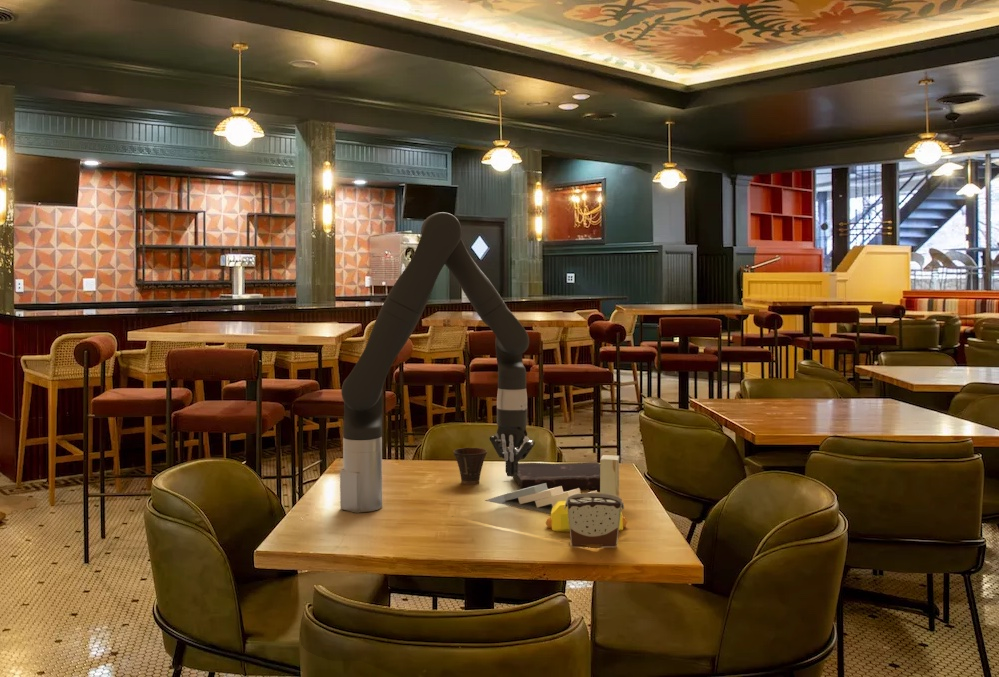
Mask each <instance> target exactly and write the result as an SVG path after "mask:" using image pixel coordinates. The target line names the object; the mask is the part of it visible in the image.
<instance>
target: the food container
mask: <svg viewBox="0 0 999 677" xmlns="http://www.w3.org/2000/svg"><path fill="white" fill-rule="evenodd" d="M566 507H567V508H568V518H569V528H570V531H569V536H570V545H571V547H588V548H589V547H591V548H593V549H594V547H592V546H591V545H597V547H596V548H598V549H599V548H601V549H602V548H603V549H605V548H617V547H618V541H619V539H618V538H619V532H620V531H619V524H620V515H621V512H622V509H623V510H625V505H624V502H623V499H622V498H621V497H620V496H619V497H617V496H614V495H610V494H603V493H600V492H597V493H588V492H583V493H581V494H575V495H571V496H569V497H568V498H567V501H566V503H565V508H564V510H565V509H566ZM589 545H590V546H589ZM571 547H570V548H571ZM588 548H587V549H588ZM591 548H590V549H591Z"/></svg>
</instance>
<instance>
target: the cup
mask: <svg viewBox="0 0 999 677" xmlns="http://www.w3.org/2000/svg"><path fill="white" fill-rule="evenodd" d="M487 454H488V450H487V449H485V448H480V447H461V448H456V449H454V450H453V455H454V458H455V459H456V463H457V466H458V470H459V474H460V483H461V484H463V485H467V486H471V485H472V486H473V485H479V484H480V479H481V473H482V470H483V469H482V468H483V465H484V461H485V458H486V455H487Z"/></svg>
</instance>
